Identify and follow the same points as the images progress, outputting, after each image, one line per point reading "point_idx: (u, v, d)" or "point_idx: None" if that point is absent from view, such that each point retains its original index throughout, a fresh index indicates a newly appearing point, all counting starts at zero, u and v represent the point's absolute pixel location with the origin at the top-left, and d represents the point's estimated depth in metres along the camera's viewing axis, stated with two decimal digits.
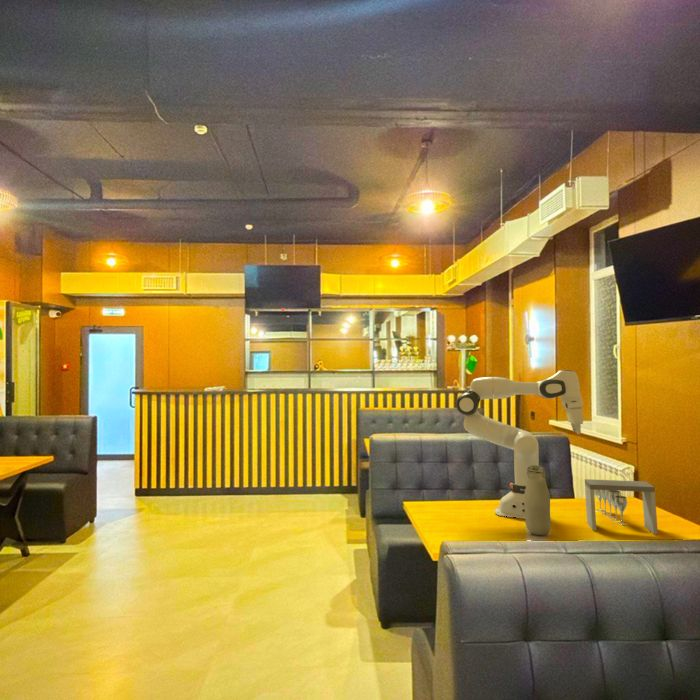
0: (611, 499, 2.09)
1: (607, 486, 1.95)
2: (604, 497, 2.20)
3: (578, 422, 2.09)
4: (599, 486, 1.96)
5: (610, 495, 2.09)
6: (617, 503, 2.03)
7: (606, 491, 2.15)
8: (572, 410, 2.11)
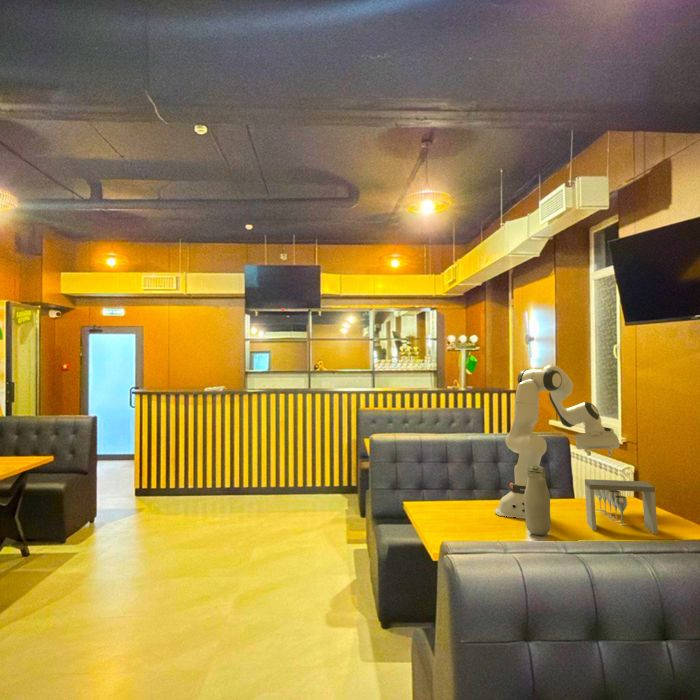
0: (611, 499, 2.09)
1: (607, 486, 1.95)
2: (604, 497, 2.20)
3: (619, 445, 2.36)
4: (599, 486, 1.96)
5: (610, 495, 2.09)
6: (617, 503, 2.03)
7: (606, 491, 2.15)
8: None
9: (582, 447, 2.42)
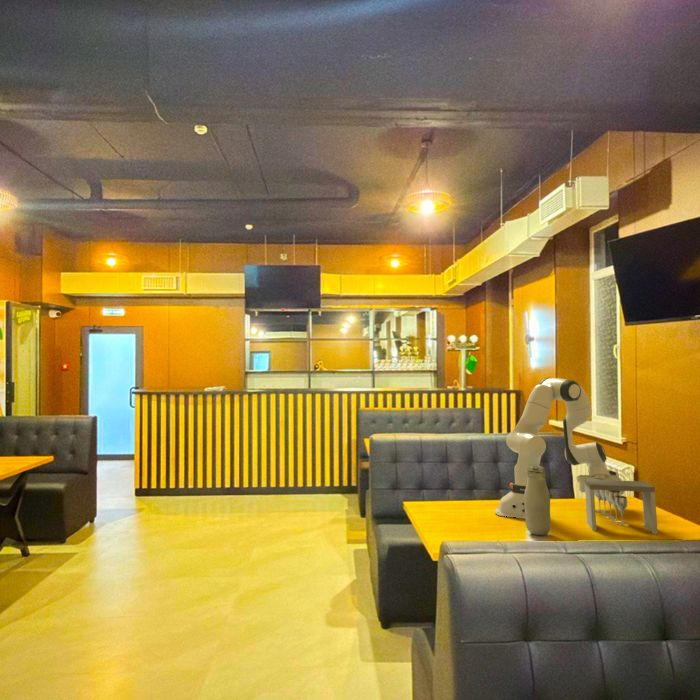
0: (611, 499, 2.09)
1: (607, 486, 1.95)
2: (604, 497, 2.20)
3: None
4: (599, 486, 1.96)
5: (610, 495, 2.09)
6: (617, 503, 2.03)
7: (606, 491, 2.15)
8: None
9: None
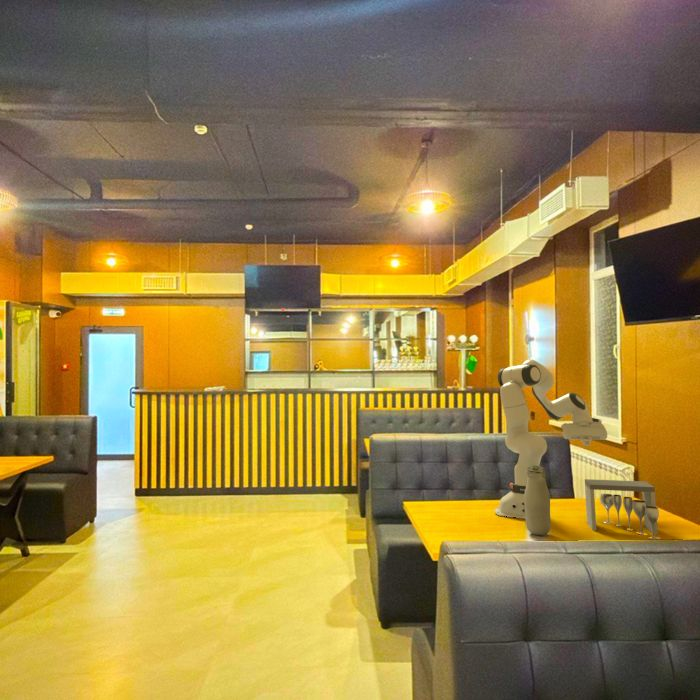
0: (638, 510, 1.90)
1: (607, 486, 1.95)
2: (618, 507, 2.01)
3: None
4: (599, 486, 1.96)
5: (637, 506, 1.90)
6: (650, 515, 1.84)
7: (626, 501, 1.96)
8: None
9: (569, 437, 2.38)
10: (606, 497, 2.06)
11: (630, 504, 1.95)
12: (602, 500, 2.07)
